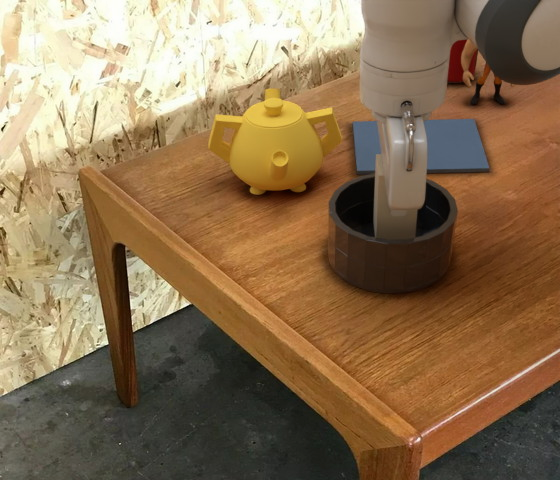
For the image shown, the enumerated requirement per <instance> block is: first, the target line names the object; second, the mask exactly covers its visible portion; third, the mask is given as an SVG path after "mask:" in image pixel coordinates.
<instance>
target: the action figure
mask: <svg viewBox="0 0 560 480" xmlns="http://www.w3.org/2000/svg"><path fill="white" fill-rule="evenodd" d="M477 49H478V48H477V47H476V46H475V45H474V44H473V43H472V42H471V41H470V40H469V39H468V40H467V42H466V44H465V47H464V50H463V52H462V55H461V64H462V68H463V70H464V73H463V81H464V82H463V83H464V85H466V86H467V87H468V88H469V89H470V88H472V86H473V85H472V83H471V81H474V80H475V77H474V75H472V74H471V73H470V72H469V71H468V68H469V65H470V62H471V59H472V56H473V55H474V52H475V51H476V50H477ZM491 72H492V71H491V69H490V68H489V66H488V65H487V63H486V62H485V64H484V69H483V72H482V76H480V77H478V79H477V81H476V82H475V92H474V94H473V96H472V98H470V102H469V103H470V105H471V106H475V105H477V104H478V101H479V99H480V97H481V90H482V88H483V87H484V85H485V83H486V80H487V79H488V77H489V75H490V73H491ZM493 77H494V79H493V86H494V93H493V95H492V97H493V99H495V100H496V101H497V102H498V104H499V105H502V106H503V105H505V104H506V100H505V99H504V98H503V97H502V95H501V94H500V92H501V87H502V85H503V80H501V79H500V78H498V77H497V76H496V75H495V74H494V73H493ZM509 86H510V88H514V86H515V84H510V85H509Z"/></svg>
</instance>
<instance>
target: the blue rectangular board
mask: <svg viewBox="0 0 560 480" xmlns="http://www.w3.org/2000/svg"><path fill="white" fill-rule="evenodd" d="M424 127H425V131H426V136H427V174H449V173H450V174H451V173H490V165H489V162H488V158H487V155H486V153H485V149H484V146H483V143H482V140H481V136H480V133H479V130H478V127H477V123H476V120H475V118H452V119H451V118H448V119H446V118H445V119H427V120H426V121H424ZM352 133H353V144H354V156H355V158H354V159H355V169H356V175H369V174H374V173H375V166H376V154H381V148H380V140H379V133H378V125H377V120H364V121H363V120H362V121H361V120H359V121H358V120H357V121H352Z"/></svg>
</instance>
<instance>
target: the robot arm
mask: <svg viewBox="0 0 560 480" xmlns="http://www.w3.org/2000/svg"><path fill="white" fill-rule="evenodd" d="M360 1H361V2H360V10H361V15H362V19H363V24H364V33H363V37H362V41H361V45H360V48H359V83H358V84H359V85H358V86H359V89H358V98H359V101H360V103H361V104H362V105H363V107H365V108H366V109H368V110H369V111H370V114H371V117H372V118H373V119H374V120H375V121H377V125H378V133H379V140H380V148H381V155H382V163H383V170H384V178H385V185H386V193H387V200H388V206H389V208H390V213H391V216H393V217H404V216H406V214H407V210H416V209H420V208H422V206H423V204H424V201H425V191H426V179H427V175H428V173H427V136H426V131H425V127H424V121H426V120H429V118H431V116H432V114H433V112H434V111H436V110H437V109H440V107H441V106H443V104H444V103H445V101H446V97H447V88H448V87H447V85H448V82H447V79H448V69H449V59H450V50H451V47H452V45H453V44H454V43H455V42H456V41H458V40H466V39H469V40H470V41H471V42H472V43H473V44H474V45H475V46H476V47H477V48H478V53H479V54H480V55H481V57H482V59H483V60H484V61H485V64H486V63H487V65H488V66H489V68H490V69H491V71H490V72H492V74H493V75H494V74H495V75H496V76H497V77H498V78H500V79H501V80H502V82H504V83H507V84H510V85H511V84H515V85H516V86H531V85H536V84H539V83H543V82H545V81H548V80H551V79H553V78H555V77H557V76H559V75H560V0H360ZM515 85H514V86H515Z"/></svg>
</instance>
